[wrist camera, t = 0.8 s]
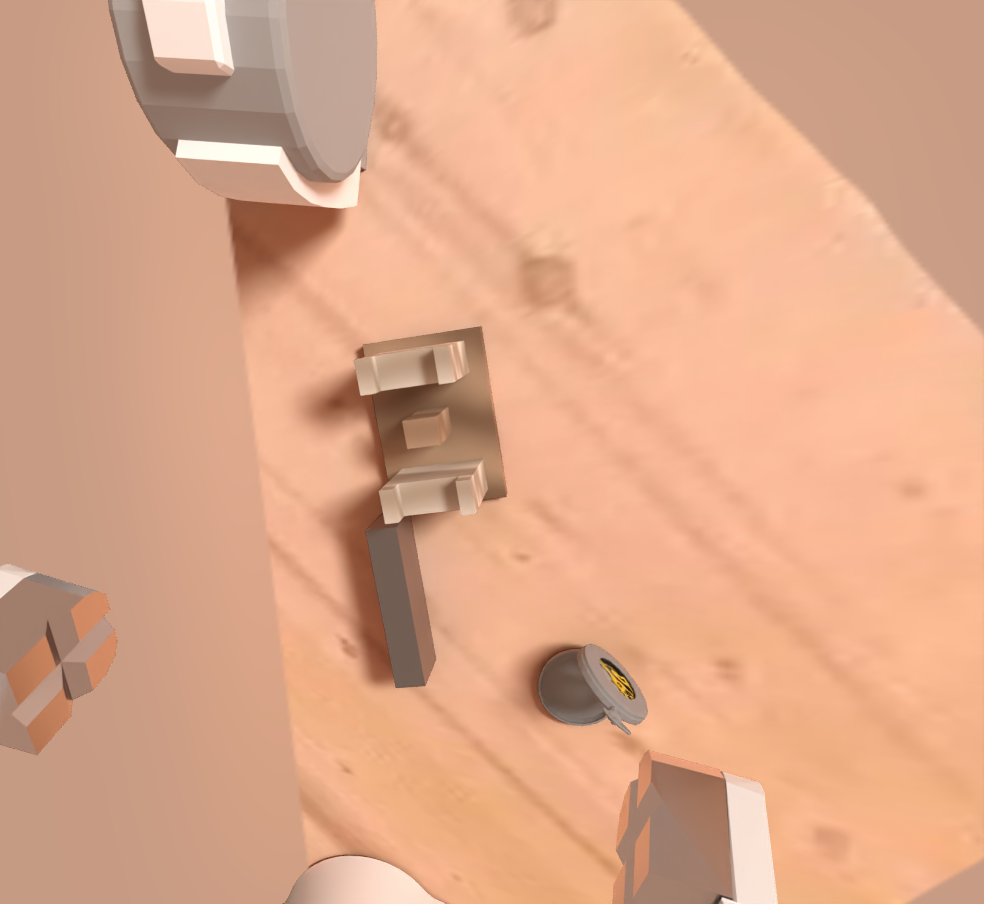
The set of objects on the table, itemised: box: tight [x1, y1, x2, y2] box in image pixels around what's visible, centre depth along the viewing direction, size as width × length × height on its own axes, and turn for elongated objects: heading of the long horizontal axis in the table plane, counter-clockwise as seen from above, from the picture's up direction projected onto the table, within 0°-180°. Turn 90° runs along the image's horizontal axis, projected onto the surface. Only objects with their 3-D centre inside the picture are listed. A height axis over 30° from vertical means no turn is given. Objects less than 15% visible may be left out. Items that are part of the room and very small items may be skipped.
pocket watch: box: [538, 644, 648, 735], centre depth 52 cm, size 8×8×10 cm
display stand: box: [354, 326, 507, 524], centre depth 50 cm, size 13×9×8 cm
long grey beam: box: [366, 514, 436, 688], centre depth 55 cm, size 13×2×4 cm, turn 8°
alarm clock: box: [108, 0, 377, 208], centre depth 39 cm, size 18×8×20 cm, turn 175°
